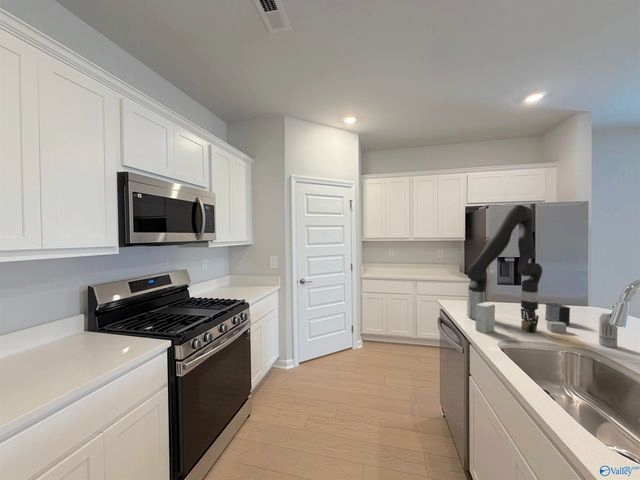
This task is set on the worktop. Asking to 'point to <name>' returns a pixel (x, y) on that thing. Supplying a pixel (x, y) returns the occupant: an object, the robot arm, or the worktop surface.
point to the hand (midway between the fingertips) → (529, 330)
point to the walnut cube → (527, 326)
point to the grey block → (556, 327)
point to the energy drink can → (607, 332)
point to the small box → (557, 313)
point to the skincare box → (485, 317)
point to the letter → (566, 340)
